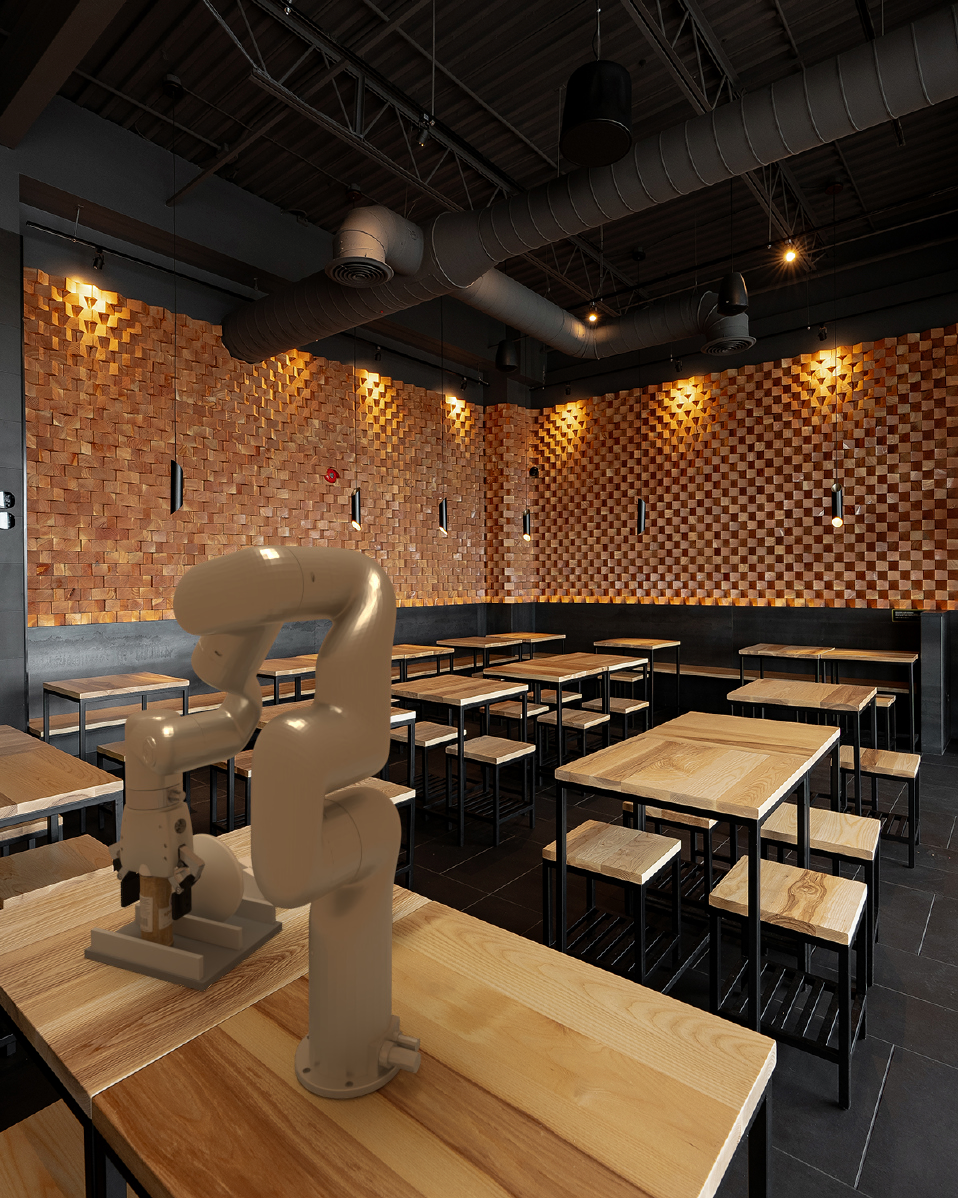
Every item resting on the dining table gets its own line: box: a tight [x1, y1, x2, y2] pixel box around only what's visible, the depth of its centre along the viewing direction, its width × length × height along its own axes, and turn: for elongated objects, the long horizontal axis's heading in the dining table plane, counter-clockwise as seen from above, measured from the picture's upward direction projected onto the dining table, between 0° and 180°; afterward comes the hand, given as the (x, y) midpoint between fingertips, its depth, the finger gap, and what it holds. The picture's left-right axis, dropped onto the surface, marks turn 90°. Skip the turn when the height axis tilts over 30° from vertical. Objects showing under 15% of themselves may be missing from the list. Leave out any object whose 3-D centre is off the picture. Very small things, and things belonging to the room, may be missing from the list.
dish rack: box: [83, 833, 283, 992], centre depth 103 cm, size 22×17×15 cm
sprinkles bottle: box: [139, 864, 174, 947], centre depth 100 cm, size 5×5×14 cm
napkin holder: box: [237, 855, 268, 902], centre depth 119 cm, size 15×11×6 cm
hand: (156, 909), depth 100 cm, fingers open, 9 cm apart
